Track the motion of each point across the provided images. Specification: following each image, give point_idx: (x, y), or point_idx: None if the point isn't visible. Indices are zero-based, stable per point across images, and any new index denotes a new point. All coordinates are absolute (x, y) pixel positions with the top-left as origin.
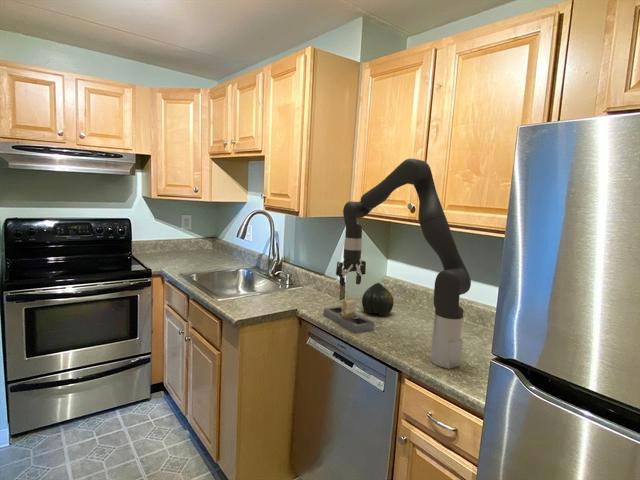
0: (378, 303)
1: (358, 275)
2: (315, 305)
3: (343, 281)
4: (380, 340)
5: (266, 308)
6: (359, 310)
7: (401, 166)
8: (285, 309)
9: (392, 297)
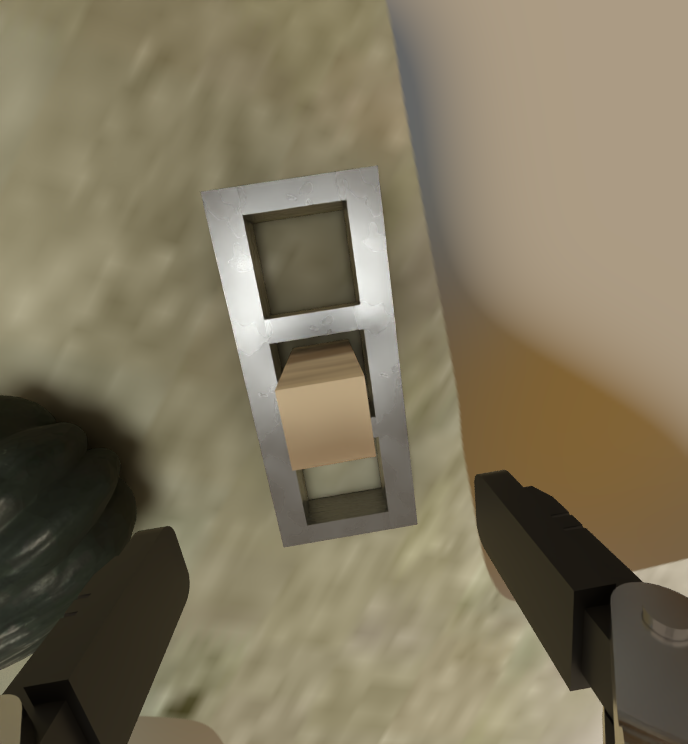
0: (9, 442)
1: (65, 742)
2: (378, 632)
3: (546, 519)
4: (260, 4)
5: None
6: None
7: None
8: None
9: None
